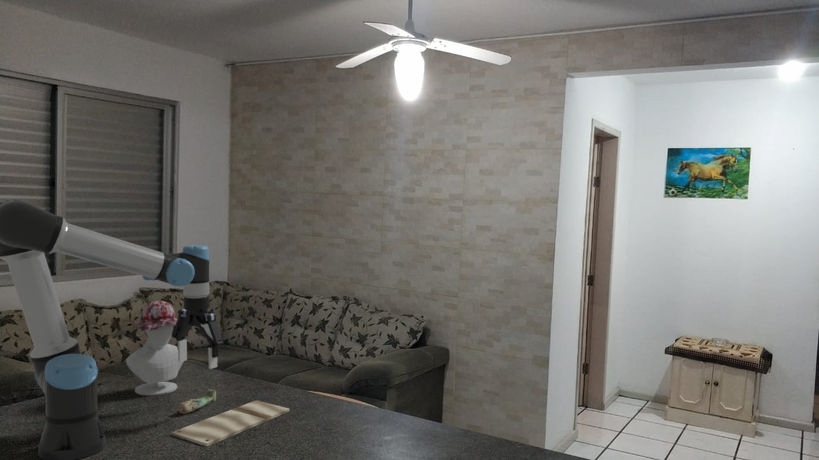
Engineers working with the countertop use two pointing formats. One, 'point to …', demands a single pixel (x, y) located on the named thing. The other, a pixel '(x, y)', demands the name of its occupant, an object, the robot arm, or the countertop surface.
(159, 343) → the bust with hat
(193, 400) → the figurine
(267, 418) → the board
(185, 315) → the robot arm
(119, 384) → the countertop surface
